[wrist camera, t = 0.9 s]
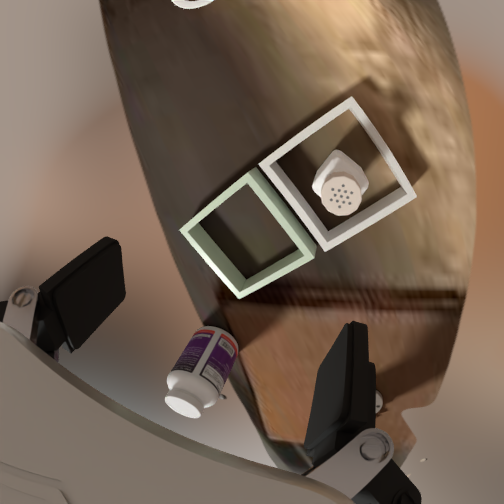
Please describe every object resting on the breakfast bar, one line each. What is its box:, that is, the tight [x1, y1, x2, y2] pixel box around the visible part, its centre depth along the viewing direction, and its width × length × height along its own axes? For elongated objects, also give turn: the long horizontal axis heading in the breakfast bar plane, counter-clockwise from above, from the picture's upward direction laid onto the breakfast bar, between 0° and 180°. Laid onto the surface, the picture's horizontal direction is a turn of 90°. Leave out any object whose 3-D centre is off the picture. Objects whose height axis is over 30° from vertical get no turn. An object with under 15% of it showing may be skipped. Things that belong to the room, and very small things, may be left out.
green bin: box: [180, 167, 317, 299], centre depth 33 cm, size 12×12×3 cm
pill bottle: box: [165, 326, 238, 418], centre depth 40 cm, size 8×8×14 cm
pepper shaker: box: [312, 149, 369, 216], centre depth 24 cm, size 4×4×10 cm
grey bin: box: [259, 96, 417, 252], centre depth 27 cm, size 12×12×3 cm
